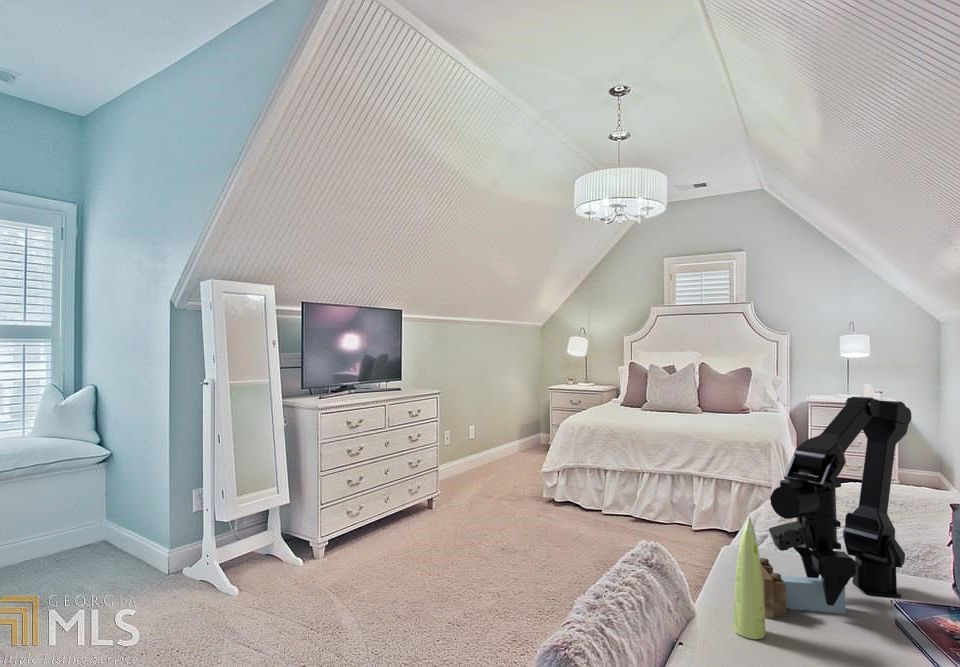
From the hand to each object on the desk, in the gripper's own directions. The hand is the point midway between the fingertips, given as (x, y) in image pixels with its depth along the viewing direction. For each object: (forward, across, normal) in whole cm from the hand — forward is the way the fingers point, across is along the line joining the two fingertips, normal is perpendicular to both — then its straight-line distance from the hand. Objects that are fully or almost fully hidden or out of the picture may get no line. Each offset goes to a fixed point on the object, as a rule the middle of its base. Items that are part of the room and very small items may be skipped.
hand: (820, 594), depth 106 cm
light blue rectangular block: (+2, 0, -3) cm, 4 cm away
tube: (+3, +14, -16) cm, 21 cm away
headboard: (+2, 0, -10) cm, 10 cm away
